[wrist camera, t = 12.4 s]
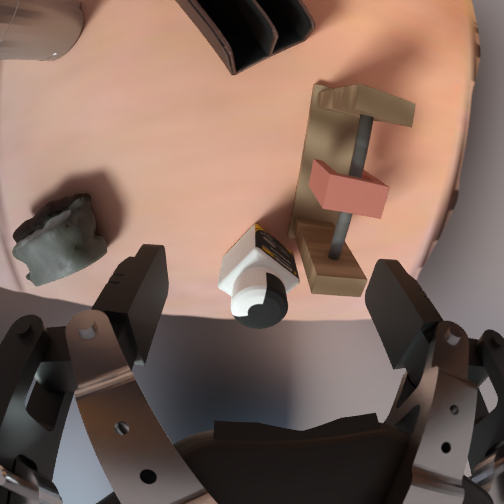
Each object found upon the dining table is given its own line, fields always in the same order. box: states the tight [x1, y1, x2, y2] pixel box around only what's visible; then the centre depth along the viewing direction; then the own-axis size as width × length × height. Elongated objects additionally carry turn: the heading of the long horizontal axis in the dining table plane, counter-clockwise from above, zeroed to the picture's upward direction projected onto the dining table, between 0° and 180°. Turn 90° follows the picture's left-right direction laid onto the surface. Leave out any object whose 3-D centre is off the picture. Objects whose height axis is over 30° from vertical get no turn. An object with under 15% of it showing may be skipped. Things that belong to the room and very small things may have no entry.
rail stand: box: [288, 84, 416, 297], centre depth 26 cm, size 20×6×14 cm, turn 173°
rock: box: [12, 193, 107, 286], centre depth 33 cm, size 18×11×8 cm, turn 108°
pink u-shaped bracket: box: [309, 159, 389, 219], centre depth 25 cm, size 3×6×7 cm, turn 83°
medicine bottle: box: [218, 224, 300, 329], centre depth 33 cm, size 7×7×12 cm
